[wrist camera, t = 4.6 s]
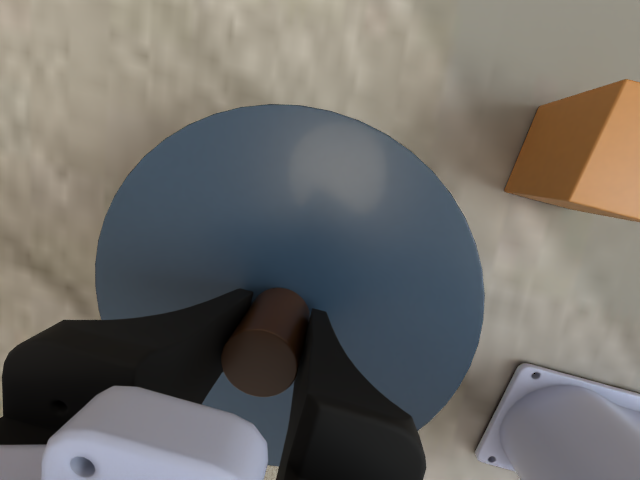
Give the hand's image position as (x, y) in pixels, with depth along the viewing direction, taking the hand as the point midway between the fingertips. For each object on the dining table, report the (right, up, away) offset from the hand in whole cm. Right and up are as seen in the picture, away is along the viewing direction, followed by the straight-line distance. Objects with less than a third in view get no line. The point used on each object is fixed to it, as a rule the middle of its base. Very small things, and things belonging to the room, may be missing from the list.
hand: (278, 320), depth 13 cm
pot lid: (0, 0, +1) cm, 1 cm away
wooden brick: (+15, +8, +3) cm, 17 cm away
